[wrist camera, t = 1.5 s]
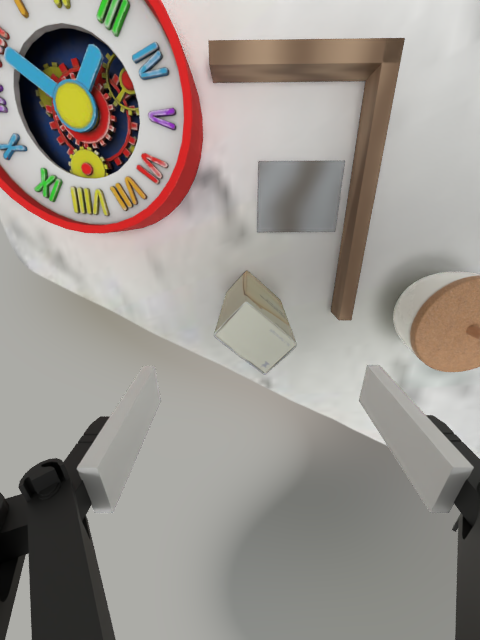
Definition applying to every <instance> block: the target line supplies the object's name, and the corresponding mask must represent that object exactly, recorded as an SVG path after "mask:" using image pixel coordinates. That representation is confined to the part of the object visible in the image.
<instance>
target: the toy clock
mask: <svg viewBox="0 0 480 640" xmlns="http://www.w3.org/2000/svg"><path fill="white" fill-rule="evenodd" d="M202 142H203V126H202V113H201V108H200V102H199V96H198V93H197V89H196V86H195V83H194V80H193V77H192V74H191V71H190V68H189V65H188V63H187V60H186V57H185V55H184V52H183V49H182V46H181V44H180V41H179V38H178V35H177V33H176V31H175V29H174V27H173V24H172V22H171V20H170V18H169V16H168V14H167V11H166V9H165V7H164V5H163V3H162V2H161V0H0V187H1V188H2V189H3V190H4V191H5V192H6V193H7V194H8V195H9V196H10V197H11V198H12V199H14V200H15V201H16V202H18V203H19V204H20V205H22V206H23V207H24V208H26V209H27V210H28V211H30V212H32V213H33V214H35V215H37V216H39V217H40V218H42V219H44V220H46V221H48V222H50V223H53V224H55V225H58V226H61V227H63V228H66V229H70V230H75V231H79V232H84V233H109V232H118V231H126V230H133V229H139V228H144V227H146V226H149V225H152V224H154V223H156V222H158V221H160V220H161V219H163V218H164V217H166V216H168V215H169V214H170V213H171V212H172V211H173V210H174V209H175V208H176V207H177V206H178V205H179V204H180V203H181V201H182V200H183V198H184V197H185V196H186V194H187V193H188V191H189V189H190V187H191V185H192V183H193V181H194V179H195V176H196V173H197V169H198V166H199V162H200V159H201V151H202Z"/></svg>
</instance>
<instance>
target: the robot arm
mask: <svg viewBox="0 0 480 640" xmlns="http://www.w3.org/2000/svg"><path fill="white" fill-rule="evenodd" d="M160 402H161V398H160V392H159V387H158V381H157V375H156V369H155V366H142V368H141V369H140V371H139V373H138V374H137V376H136V377H135V379H134V380H133V382H132V384H131V385H130V386H129V388H128V389H127V391H126V393H125V394H124V396H123V397H122V399H121V400H120V402H119V403H118V405H117V407H116V408H115V410H114V411H113V413H112V414H111V416H110V417H99V418H98V419H97V420H96V421H94V422H93V423H92V424H91V425H90V426H89V427H88V429H87V430H86V432H85V433H84V435H83V436H82V437H81V438H80V440H79V441H78V444H76V445H75V447H74V448H73V450H72V451H71V452H70V454H69V455H68V457H67V458H66V460H65V461H64V462H62V460H60V459H57V458H56V459H48V460H46V461H43V462H40V463H39V464H37V465H35V466H34V467H32V468H31V469H30V470H29V471H28V472H27V473H25V475H24V476H23V478H22V479H21V481H20V484H19V489H20V491H21V493H22V494H20V495H17V496H14V497H10V498H7V499H5V498H4V496H3V495H2V494H1V493H0V640H5V637H6V633H7V629H8V625H9V621H10V617H11V612H12V608H13V604H14V600H15V596H16V592H17V588H18V584H19V580H20V576H21V571H22V567H23V563H24V559H25V555H26V554H28V553H29V573H30V599H31V624H32V625H31V627H32V640H115V635H114V631H113V627H112V623H111V618H110V614H109V610H108V605H107V601H106V597H105V593H104V588H103V584H102V580H101V576H100V571H99V567H98V563H97V559H96V554H95V550H94V546H93V542H92V537H91V533H90V529H89V525H88V520H87V517H86V514H87V512H88V510H89V508H90V506H91V505H92V508H93V510H94V513H113V512H114V509H115V507H116V505H117V502H118V500H119V498H120V496H121V493H122V491H123V488H124V486H125V484H126V481H127V479H128V477H129V474H130V472H131V470H132V467H133V465H134V463H135V460H136V458H137V455H138V453H139V451H140V449H141V446H142V444H143V442H144V439H145V437H146V435H147V432H148V430H149V428H150V425H151V423H152V421H153V418H154V416H155V414H156V411H157V409H158V407H159V404H160ZM359 402H360V403H361V405H362V406H363V408H364V409H365V411H366V413H367V414H368V416H369V417H370V419H371V420H372V422H373V424H374V425H375V427H376V428H377V430H378V431H379V433H380V435H381V436H382V438H383V439H384V441H385V442H386V444H387V446H388V447H389V449H390V450H391V452H392V453H393V455H394V457H395V458H396V460H397V461H398V463H399V464H400V466H401V468H402V469H403V471H404V472H405V474H406V475H407V477H408V478H409V480H410V482H411V483H412V485H413V486H414V488H415V489H416V491H417V493H418V494H419V496H420V497H421V499H422V501H423V502H424V504H425V505H426V507H427V508H428V510H429V511H430V513H449V512H450V510H451V508H452V506H453V505H454V504H455V505H456V506H457V508H458V509H459V510H460V512H461V514H460V516H459V517H458V519H457V521H456V523H455V525H454V526H453V529H452V530H453V531H456V530H457V529H458V559H457V596H456V597H457V598H456V635H455V640H480V459H479V458H478V457H477V456H476V455H475V454H474V453H473V452H472V451H471V450H470V449H469V448H468V447H467V446H466V445H465V444H464V443H463V442H461V440H460V439H459V438H458V437H457V436H456V435H455V434H454V432H453V431H452V430H451V429H450V428H449V427H448V426H447V425H446V424H445V423H443V422H442V421H440V420H439V419H437V418H436V417H434V416H433V415H425V414H424V413H423V412H422V411H421V410H420V408H419V407H418V406H417V405H416V404H415V403H414V402H413V401H412V400H411V399H410V398H409V397H408V396H407V394H406V393H405V392H404V391H403V390H402V389H401V388H400V387H399V386H398V385H397V384H396V383H395V381H394V380H393V379H392V378H391V377H390V376H389V375H388V374H387V373H386V372H385V371H384V370H383V368H382V367H381V366H380V365H367V368H366V373H365V377H364V381H363V385H362V389H361V394H360V398H359Z"/></svg>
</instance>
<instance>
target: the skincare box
mask: <svg viewBox="0 0 480 640" xmlns="http://www.w3.org/2000/svg"><path fill="white" fill-rule="evenodd" d="M214 337H215V338H216V339H218V340H219V341H220V342H222V343H223V344H224V345H225V346H227V347H228V348H229V349H230V350H232V351H233V352H234V353H235V354H237V355H238V356H239V357H241V358H242V359H243V360H245V361H246V362H247V363H249V364H250V365H252V366H253V367H254V368H256V369H257V370H258V371H260V372H261V373H262V374H264V375H266V374H267V373H268V372H269V371H270V370H271V369H272V368H274V367H275V366H276V365H277V364H278V363H279V362H280V361H281V360H282V359H284V358H285V357H286V356H287V355H288V354H289V353H290V352H291V351H292V350H293V349H294V348H295V347H296V346H297V343H296V341H295V338H294V336H293V333H292V330H291V328H290V325H289V322H288V320H287V317H286V314H285V311H284V309H283V306H282V303H281V301H280V299H278V298H277V297H276V296H275V295H274V294H273V293H272V292H271V291H270V290H269V289H268V288H267V287H265V286H264V285H263V284H262V283H261V282H260V281H259V280H258V279H256V278H255V277H254V276H253V275H252V274H251V273H250V272H248V271H246V272H245V273H244V274H243V275H242V276H241V277H240V278H239V279H238V280H237V281H236V282H235V283H234V285H233V286H232V287H231V288H230V289H229V290H228V291H227V293H226V295H225V299H224V302H223V305H222V309H221V312H220V316H219V319H218V323H217V326H216V329H215V332H214Z"/></svg>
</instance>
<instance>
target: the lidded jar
mask: <svg viewBox="0 0 480 640" xmlns="http://www.w3.org/2000/svg"><path fill="white" fill-rule="evenodd" d="M393 322H394V326H395V330H396V332H397V334H398V336H399V337H400V339H401V340H402V342H403V343H404V344H405V345H406V346H407V347H408V348H409V349H410V350H411V351H412V352H413V353H414V354H415V355H416V356H417V357H418V358H419V359H420V360H421V361H422V362H424V363H425V364H426V365H428V366H429V367H431V368H433V369H436V370H439V371H444V372H462V371H466V370H471V369H474V368H477V367H480V274H475V273H469V272H441V273H436V274H432V275H429V276H426V277H424V278H422V279H420V280H418V281H416V282H414V283H413V284H412V285H410V286H409V287H408V288H407V289H406V290H405V291H404V292H403V293H402V294H401V296H400V297H399V299H398V300H397V303H396V305H395V308H394V313H393Z"/></svg>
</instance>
